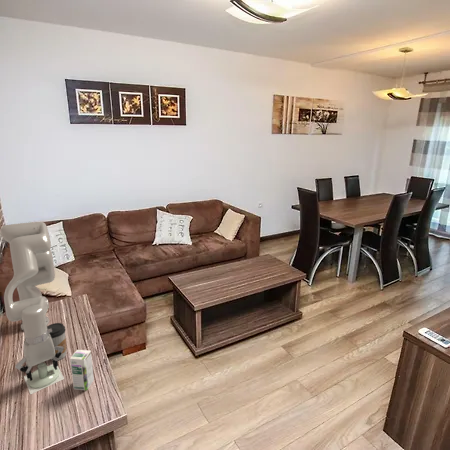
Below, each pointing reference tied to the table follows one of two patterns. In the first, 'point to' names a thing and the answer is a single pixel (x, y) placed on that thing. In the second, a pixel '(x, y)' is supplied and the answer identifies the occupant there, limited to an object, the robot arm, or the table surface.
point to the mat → (33, 390)
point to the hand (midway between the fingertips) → (43, 373)
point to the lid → (43, 376)
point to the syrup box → (82, 369)
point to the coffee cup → (58, 337)
